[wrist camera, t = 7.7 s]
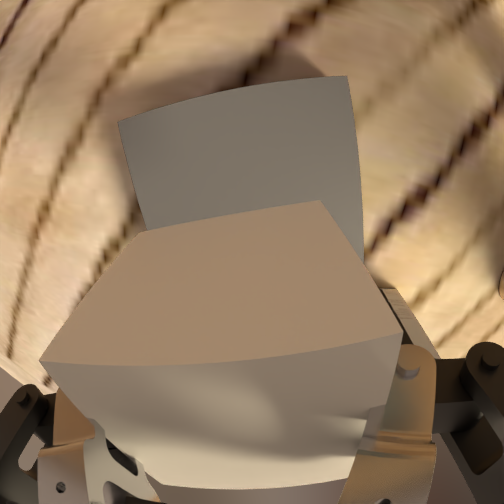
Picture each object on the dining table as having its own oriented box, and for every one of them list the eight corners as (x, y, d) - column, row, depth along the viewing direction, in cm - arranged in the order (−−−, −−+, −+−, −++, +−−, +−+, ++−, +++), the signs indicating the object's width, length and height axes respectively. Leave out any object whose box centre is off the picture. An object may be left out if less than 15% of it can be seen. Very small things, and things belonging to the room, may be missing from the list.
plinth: (332, 82, 19) (347, 75, 16) (350, 259, 26) (363, 282, 23) (138, 119, 21) (117, 121, 17) (185, 284, 28) (176, 309, 24)
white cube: (320, 200, 9) (403, 331, 3) (329, 342, 11) (360, 474, 6) (139, 232, 9) (38, 360, 4) (189, 358, 12) (162, 484, 6)
